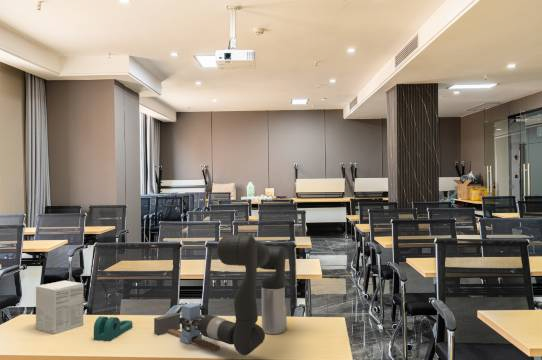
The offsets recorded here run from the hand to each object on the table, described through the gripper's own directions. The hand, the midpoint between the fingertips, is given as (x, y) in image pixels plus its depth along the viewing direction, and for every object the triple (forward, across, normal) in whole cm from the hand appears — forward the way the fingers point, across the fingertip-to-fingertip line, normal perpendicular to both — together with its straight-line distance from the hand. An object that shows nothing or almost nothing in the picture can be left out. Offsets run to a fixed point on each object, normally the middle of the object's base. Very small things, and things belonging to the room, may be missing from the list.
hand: (186, 318), depth 156 cm
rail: (-3, 0, +8) cm, 8 cm away
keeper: (-3, 0, +8) cm, 8 cm away
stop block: (+13, 0, +8) cm, 15 cm away
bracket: (+27, +14, +8) cm, 32 cm away
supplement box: (+51, +26, +8) cm, 58 cm away
